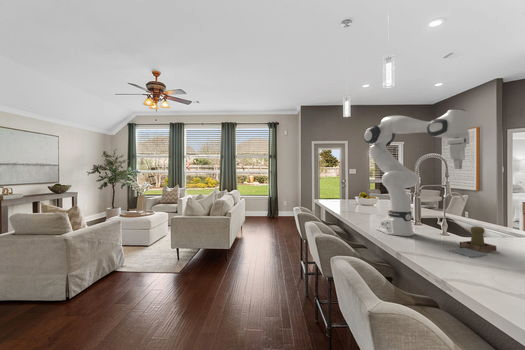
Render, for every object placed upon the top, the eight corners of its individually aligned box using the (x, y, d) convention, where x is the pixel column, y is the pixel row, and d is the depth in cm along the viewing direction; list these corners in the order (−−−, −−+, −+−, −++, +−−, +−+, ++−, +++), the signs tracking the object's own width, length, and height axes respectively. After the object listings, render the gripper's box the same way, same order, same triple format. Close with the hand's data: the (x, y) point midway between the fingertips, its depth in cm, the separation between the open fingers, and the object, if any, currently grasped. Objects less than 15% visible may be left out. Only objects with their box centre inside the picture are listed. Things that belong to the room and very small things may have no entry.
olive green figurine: (472, 246, 130) (472, 225, 130) (487, 249, 125) (487, 227, 125) (467, 248, 127) (467, 226, 127) (483, 251, 122) (483, 228, 122)
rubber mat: (449, 250, 124) (449, 249, 124) (464, 248, 126) (464, 247, 126) (471, 257, 114) (471, 256, 114) (487, 255, 117) (487, 253, 117)
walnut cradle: (459, 247, 130) (459, 242, 130) (473, 245, 132) (473, 240, 132) (481, 253, 120) (481, 247, 120) (496, 250, 123) (496, 245, 123)
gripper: (453, 143, 137) (453, 169, 137) (446, 140, 122) (447, 169, 122) (468, 142, 133) (468, 168, 133) (463, 138, 118) (463, 168, 118)
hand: (458, 169), depth 127 cm, fingers open, 8 cm apart
